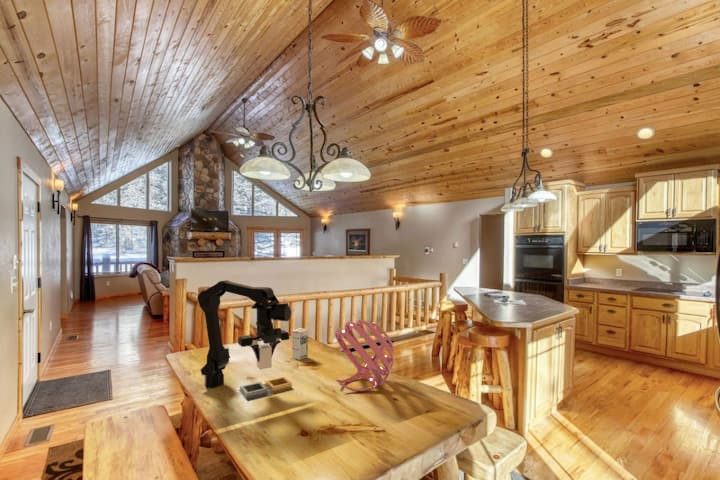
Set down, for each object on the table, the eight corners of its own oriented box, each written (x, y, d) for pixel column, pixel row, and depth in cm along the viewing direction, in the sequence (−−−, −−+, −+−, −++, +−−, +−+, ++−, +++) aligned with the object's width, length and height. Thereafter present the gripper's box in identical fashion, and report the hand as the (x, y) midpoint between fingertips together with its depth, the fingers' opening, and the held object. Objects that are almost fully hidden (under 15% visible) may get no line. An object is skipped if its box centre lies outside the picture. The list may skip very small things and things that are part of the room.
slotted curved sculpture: (318, 350, 125) (373, 304, 135) (309, 348, 151) (356, 309, 161) (365, 413, 123) (417, 362, 133) (347, 400, 149) (392, 358, 159)
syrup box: (299, 360, 174) (299, 331, 174) (291, 358, 177) (291, 329, 178) (307, 357, 178) (308, 329, 179) (300, 355, 182) (300, 327, 182)
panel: (247, 403, 125) (247, 395, 125) (238, 392, 135) (238, 384, 135) (293, 392, 135) (294, 384, 135) (282, 382, 145) (282, 375, 145)
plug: (260, 369, 131) (260, 348, 132) (256, 366, 135) (256, 345, 135) (271, 367, 134) (271, 346, 134) (267, 364, 137) (267, 343, 138)
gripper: (245, 326, 123) (245, 371, 123) (294, 320, 133) (294, 361, 133) (237, 321, 132) (237, 362, 132) (284, 316, 143) (284, 354, 142)
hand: (264, 360), depth 135 cm, fingers closed on plug, 4 cm apart
